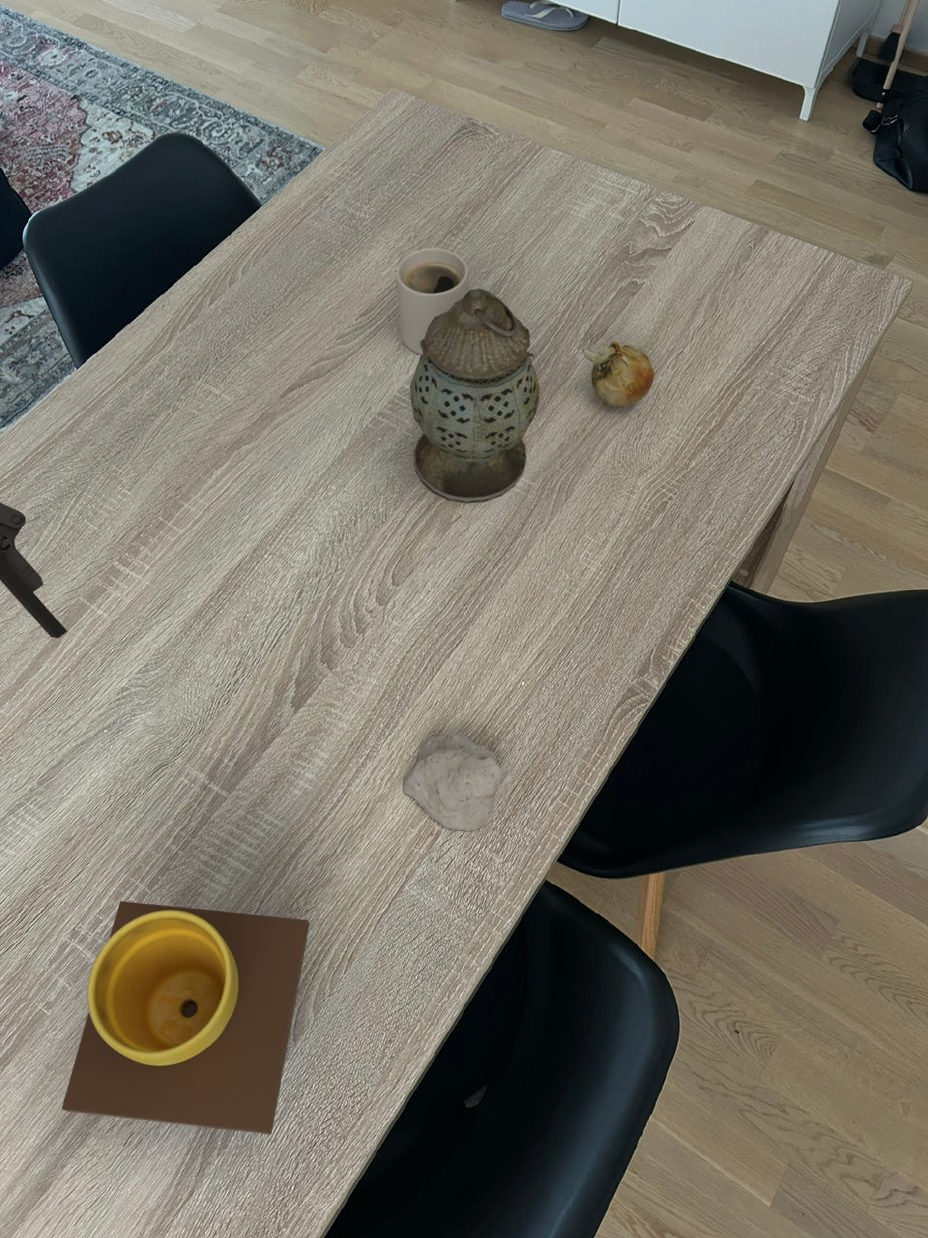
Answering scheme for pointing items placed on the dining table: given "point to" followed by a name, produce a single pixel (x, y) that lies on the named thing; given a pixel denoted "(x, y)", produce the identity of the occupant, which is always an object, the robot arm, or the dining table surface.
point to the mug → (427, 290)
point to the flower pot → (162, 987)
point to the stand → (231, 1066)
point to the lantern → (473, 400)
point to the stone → (454, 781)
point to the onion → (620, 374)
